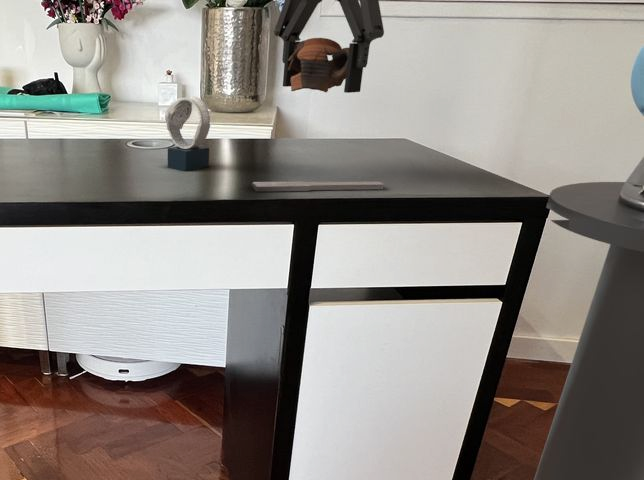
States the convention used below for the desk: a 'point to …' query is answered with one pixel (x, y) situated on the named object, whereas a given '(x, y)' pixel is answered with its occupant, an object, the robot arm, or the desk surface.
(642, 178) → the robot arm
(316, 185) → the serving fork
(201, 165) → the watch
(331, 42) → the pottery mug
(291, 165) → the desk surface
